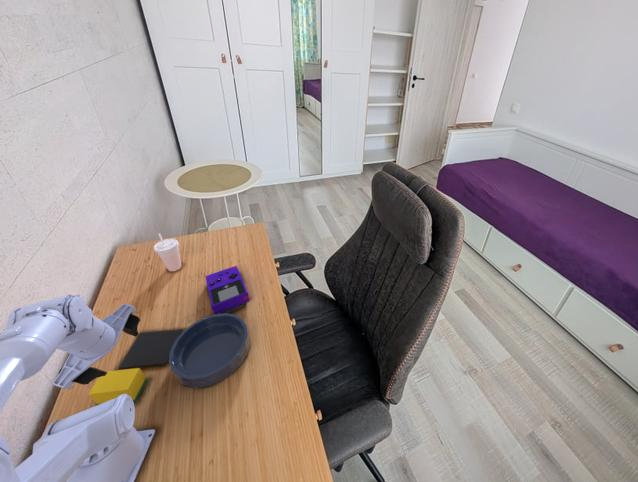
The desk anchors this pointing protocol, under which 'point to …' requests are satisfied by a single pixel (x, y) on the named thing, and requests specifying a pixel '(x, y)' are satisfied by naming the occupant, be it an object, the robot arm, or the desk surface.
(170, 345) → the mat
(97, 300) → the desk surface
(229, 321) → the bowl
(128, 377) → the sponge
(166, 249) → the smoothie
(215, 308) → the handheld gaming console
